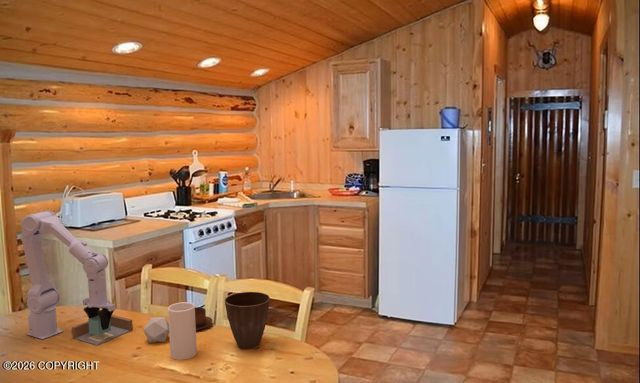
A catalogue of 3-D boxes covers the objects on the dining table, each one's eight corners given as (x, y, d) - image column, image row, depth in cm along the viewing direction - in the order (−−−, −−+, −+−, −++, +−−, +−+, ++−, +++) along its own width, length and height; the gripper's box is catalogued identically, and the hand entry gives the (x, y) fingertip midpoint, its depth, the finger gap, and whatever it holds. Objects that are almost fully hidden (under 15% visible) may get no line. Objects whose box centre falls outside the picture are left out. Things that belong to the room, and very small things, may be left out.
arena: (72, 338, 181) (71, 327, 180) (109, 323, 194) (108, 313, 193) (96, 345, 174) (96, 334, 174) (132, 330, 187) (132, 319, 187)
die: (156, 349, 172) (172, 323, 174) (134, 335, 173) (151, 310, 175) (163, 348, 180) (178, 323, 182) (142, 335, 181) (158, 310, 183)
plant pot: (235, 334, 182) (234, 290, 180) (276, 337, 179) (275, 292, 177) (219, 352, 168) (217, 304, 166) (263, 355, 165) (261, 307, 163)
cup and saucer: (176, 324, 193) (175, 308, 192) (208, 318, 198) (207, 303, 197) (182, 335, 182) (181, 318, 181) (216, 329, 187) (215, 313, 186)
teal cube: (89, 332, 180) (88, 319, 179) (101, 328, 184) (100, 314, 183) (98, 335, 177) (97, 321, 176) (110, 330, 181) (110, 316, 181)
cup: (201, 350, 169) (199, 303, 167) (187, 361, 162) (185, 312, 160) (180, 347, 172) (177, 301, 170) (165, 357, 164) (162, 309, 162)
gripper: (73, 289, 179) (76, 327, 181) (101, 296, 172) (104, 335, 173) (91, 284, 185) (94, 320, 187) (119, 290, 178) (121, 328, 179)
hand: (100, 327), depth 180 cm, fingers closed on teal cube, 5 cm apart
